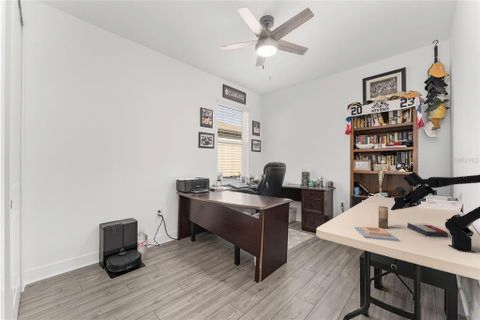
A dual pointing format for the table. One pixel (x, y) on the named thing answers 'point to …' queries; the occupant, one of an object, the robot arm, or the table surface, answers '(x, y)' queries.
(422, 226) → the grey and red box
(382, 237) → the plinth
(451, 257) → the table surface
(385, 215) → the column
